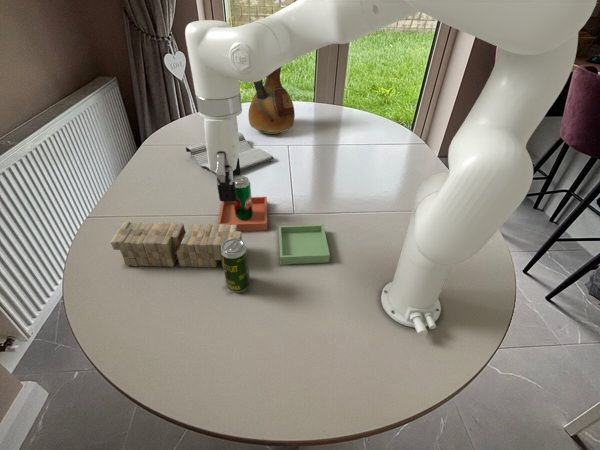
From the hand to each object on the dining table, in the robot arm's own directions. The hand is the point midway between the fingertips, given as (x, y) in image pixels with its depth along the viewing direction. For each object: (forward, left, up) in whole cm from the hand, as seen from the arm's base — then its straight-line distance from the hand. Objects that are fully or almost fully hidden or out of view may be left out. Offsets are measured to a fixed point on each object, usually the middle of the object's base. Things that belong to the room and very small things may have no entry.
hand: (231, 187), depth 69 cm
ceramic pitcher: (+83, -9, -22) cm, 86 cm away
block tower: (+3, +14, -22) cm, 26 cm away
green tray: (+5, -16, -22) cm, 28 cm away
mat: (+55, +7, -22) cm, 60 cm away
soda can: (+19, 0, -22) cm, 29 cm away
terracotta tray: (+19, 0, -22) cm, 29 cm away
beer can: (-7, 0, -22) cm, 23 cm away
